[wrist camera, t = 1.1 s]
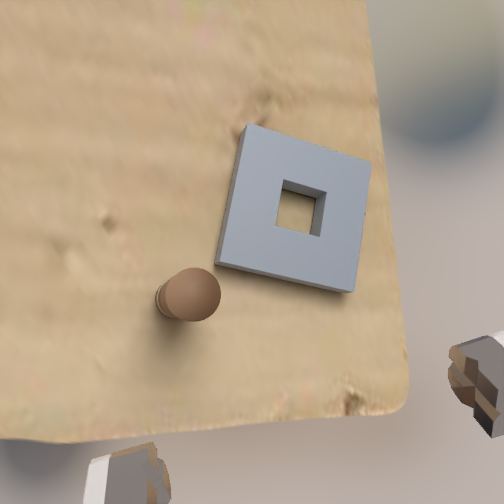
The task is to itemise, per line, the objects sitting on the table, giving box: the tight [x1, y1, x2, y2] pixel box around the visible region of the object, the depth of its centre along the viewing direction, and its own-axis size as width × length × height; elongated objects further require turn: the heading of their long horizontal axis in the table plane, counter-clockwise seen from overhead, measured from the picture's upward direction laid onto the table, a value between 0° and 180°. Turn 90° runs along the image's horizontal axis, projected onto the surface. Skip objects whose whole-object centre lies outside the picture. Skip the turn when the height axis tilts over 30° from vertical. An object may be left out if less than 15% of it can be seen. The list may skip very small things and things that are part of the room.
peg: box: [156, 268, 221, 322], centre depth 32 cm, size 4×4×12 cm
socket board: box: [214, 123, 372, 293], centre depth 41 cm, size 14×14×2 cm
